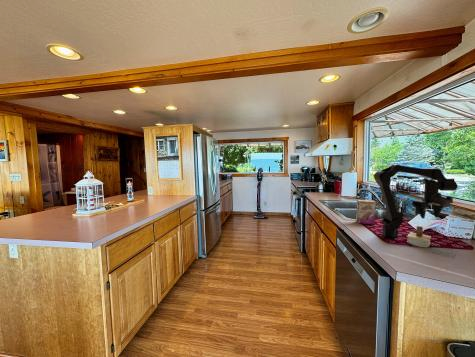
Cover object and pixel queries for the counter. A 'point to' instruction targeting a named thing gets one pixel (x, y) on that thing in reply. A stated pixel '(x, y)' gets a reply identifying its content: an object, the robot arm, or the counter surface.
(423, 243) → the bowl
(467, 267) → the counter surface
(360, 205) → the candy bar box
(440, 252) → the mat
